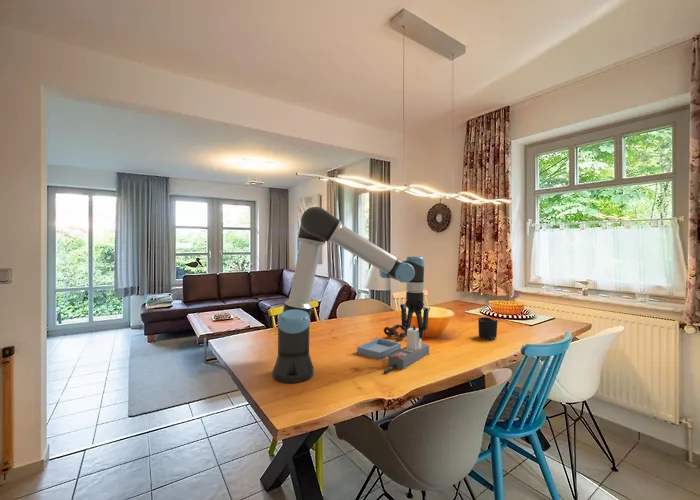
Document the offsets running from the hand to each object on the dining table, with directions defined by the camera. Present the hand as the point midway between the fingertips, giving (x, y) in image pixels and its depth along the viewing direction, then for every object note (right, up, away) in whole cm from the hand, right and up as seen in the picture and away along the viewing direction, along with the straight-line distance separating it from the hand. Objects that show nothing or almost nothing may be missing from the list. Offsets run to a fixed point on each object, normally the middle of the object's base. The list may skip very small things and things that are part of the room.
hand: (414, 344), depth 140 cm
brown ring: (-5, -5, +27) cm, 28 cm away
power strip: (-5, -6, -6) cm, 10 cm away
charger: (0, -4, 0) cm, 4 cm away
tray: (-15, -5, +7) cm, 17 cm away
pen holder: (+46, -6, +30) cm, 55 cm away
